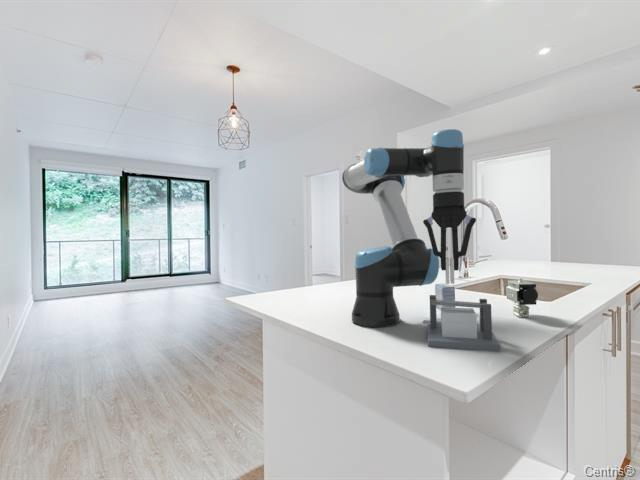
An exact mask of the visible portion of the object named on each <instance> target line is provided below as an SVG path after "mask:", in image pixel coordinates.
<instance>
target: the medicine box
mask: <svg viewBox="0 0 640 480" xmlns="http://www.w3.org/2000/svg"><path fill="white" fill-rule="evenodd" d="M434 293H435V294H434V295H436V300H447V301H456V289H455V286H453V285H451V284H450V283H449V284H446V283H436V284H434ZM441 307H445V308H457V306H447V305H436V309H438V310H440V311H441Z"/></svg>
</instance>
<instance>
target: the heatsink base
mask: <svg viewBox="0 0 640 480" xmlns="http://www.w3.org/2000/svg"><path fill="white" fill-rule="evenodd" d="M431 299H435V300H436V295H435V294H429V315H430V324H427V343H428V344H427V345H428V347H433V348H447V349H448V348H449V349H463V350H464V349H465V350H476V351H477V350H480V351H490V352H491V351H493V352H494V351H496V352H501V344H500V341H499V340H498V338H497V337H496V335H495V333H494V332H493V331H492V329H493V328H492V327H493V325H492V321H493V320H492V319H493V318H492V304H491V303H488V299H487V298H479V300H478V301H479V303H481V302H482V301H485V302H486V303H487V304H483V308H479V326H478V324H477V313H476V312H475V309H474V307H456V308H445V307H441V310H440V312H441V325H438V324H437V321H436V311H437V307H436V305H431Z"/></svg>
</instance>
